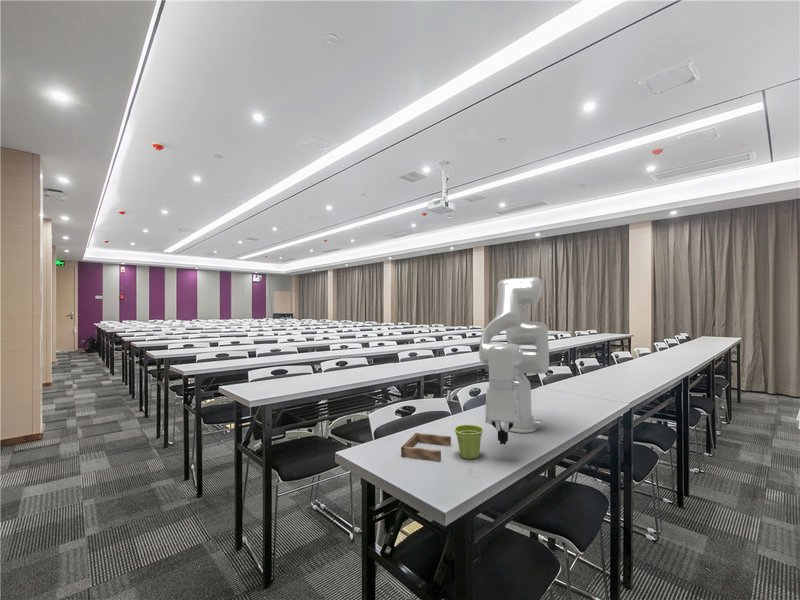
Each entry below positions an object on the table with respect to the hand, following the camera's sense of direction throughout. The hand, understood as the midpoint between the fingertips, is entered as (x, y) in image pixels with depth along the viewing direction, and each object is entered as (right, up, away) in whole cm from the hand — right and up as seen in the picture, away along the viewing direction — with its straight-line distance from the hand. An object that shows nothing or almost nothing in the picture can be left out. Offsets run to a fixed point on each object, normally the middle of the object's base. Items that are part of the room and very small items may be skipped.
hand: (503, 443), depth 114 cm
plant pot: (-10, -6, +4) cm, 12 cm away
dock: (-23, -6, +10) cm, 26 cm away
